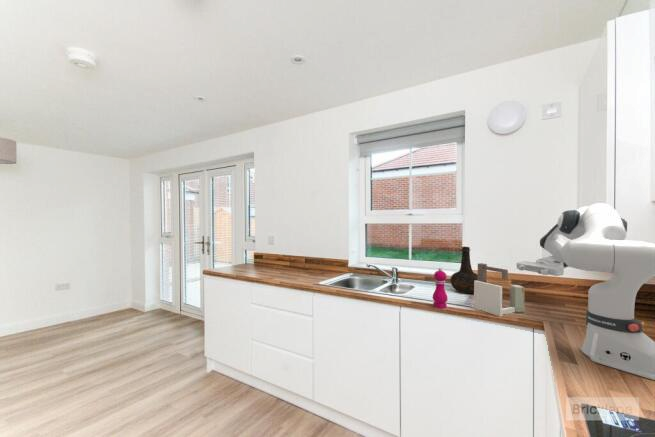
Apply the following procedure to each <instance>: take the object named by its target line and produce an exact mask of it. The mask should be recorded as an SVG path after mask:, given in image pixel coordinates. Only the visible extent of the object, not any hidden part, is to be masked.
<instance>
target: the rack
mask: <svg viewBox="0 0 655 437" xmlns="http://www.w3.org/2000/svg"><path fill="white" fill-rule="evenodd" d="M475 308H476V309H475ZM473 309H475V310H478V309H479V311H481V310H482V311H481V312H484V311H485V312H484V313H487V312H488V314H491V315H494V316H496V317H500V318H502V316H504V315H503V314H506V313H511V314H513V313H512V312H515V308H514V307H510V306H509V307H503V286H502V285H497V284H493V283H488V282H487V283H485V282H480V281H474V293H473ZM515 313H516V312H515ZM506 315H507V314H506Z"/></svg>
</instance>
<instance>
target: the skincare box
mask: <svg viewBox="0 0 655 437" xmlns="http://www.w3.org/2000/svg"><path fill="white" fill-rule="evenodd" d="M525 296H526V295H525V287H524V286H522V285H519V284H509V307H514V308H515V313H525V309H526V308H525V306H526V305H525V301H526V300H525Z"/></svg>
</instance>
